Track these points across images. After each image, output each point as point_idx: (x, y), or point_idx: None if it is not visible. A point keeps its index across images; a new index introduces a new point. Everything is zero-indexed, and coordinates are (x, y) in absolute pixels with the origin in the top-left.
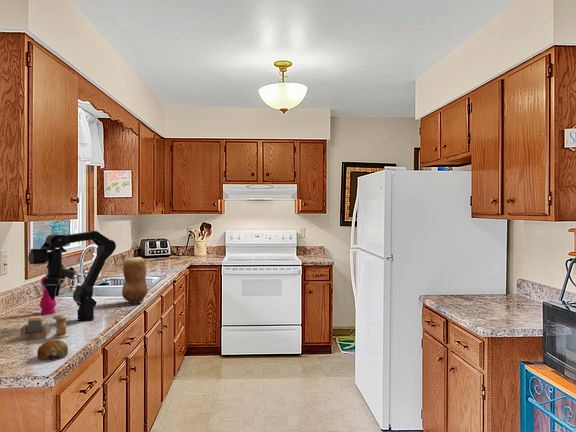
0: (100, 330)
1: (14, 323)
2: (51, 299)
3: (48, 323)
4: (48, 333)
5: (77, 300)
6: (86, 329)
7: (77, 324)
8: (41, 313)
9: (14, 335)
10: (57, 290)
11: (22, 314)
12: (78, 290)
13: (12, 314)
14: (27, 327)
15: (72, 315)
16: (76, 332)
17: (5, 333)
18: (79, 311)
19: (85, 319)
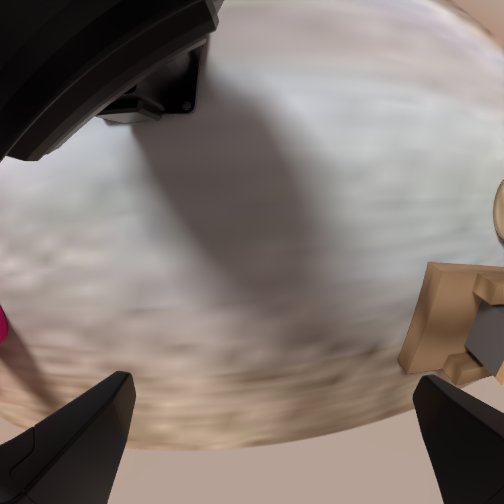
0: (464, 31)
1: (167, 429)
2: (421, 400)
3: (500, 286)
4: (476, 267)
5: (145, 76)
6: (440, 79)
7: (296, 112)
8: (3, 340)
9: (408, 390)
10: (99, 443)
11: (19, 395)
12: (26, 26)
13: (26, 417)
14: (478, 362)
15: (18, 187)
16: (480, 136)
17: (355, 425)
18: (151, 94)
19: (191, 64)
